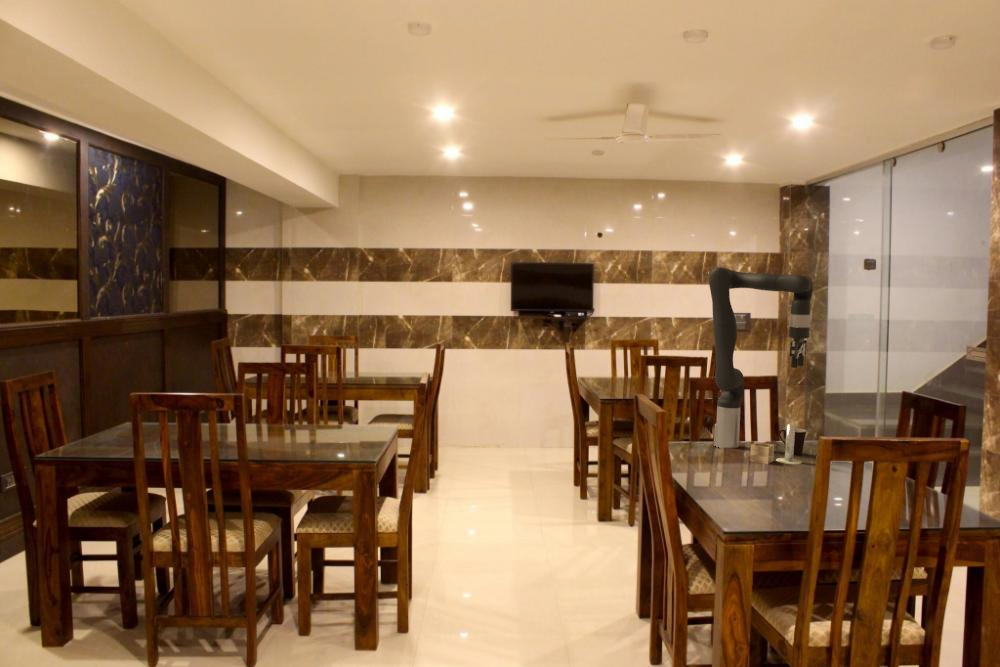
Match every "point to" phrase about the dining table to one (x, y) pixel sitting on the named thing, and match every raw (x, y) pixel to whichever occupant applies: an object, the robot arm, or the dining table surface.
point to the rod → (789, 442)
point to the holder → (761, 453)
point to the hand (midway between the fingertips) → (797, 366)
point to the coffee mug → (795, 440)
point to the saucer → (782, 460)
